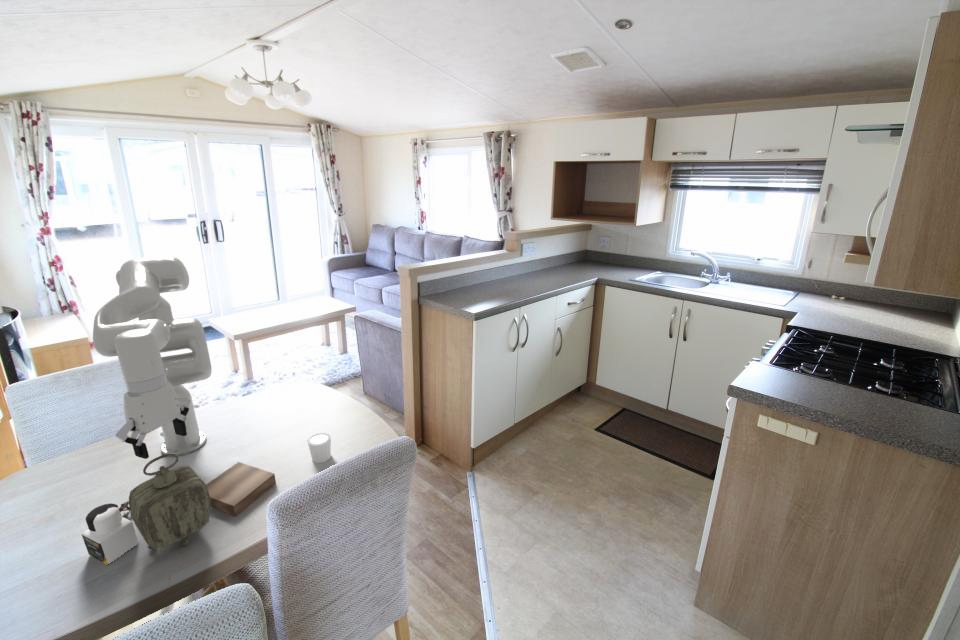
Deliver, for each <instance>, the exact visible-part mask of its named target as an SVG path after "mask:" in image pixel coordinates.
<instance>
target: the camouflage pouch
mask: <svg viewBox="0 0 960 640" xmlns="http://www.w3.org/2000/svg"><path fill="white" fill-rule="evenodd" d="M178 456H179V455H178ZM178 456H177V455H175V454H162V455H160V456H157V457H155V458H153V459H152V460H150V461H148V462H147V463H146V464H145V466H144V467H143V470H142V471H143V474H144V475H145V476H154V477H152V478H150V479H147V480H146V481H144V482H141V483H140V484H138V485H136V486H134V488H133V489H131V490H130V491H129V496H128V501H129V505H128V507H130V510H129V511H130V516H131V518H132V520H133V521H132V522H133V523H134V525H135V527H136V528H137V530H138V532H139V533H140V535H141V536H142V538H143V539H144V541H145V543H146V544H147V546H148V549H149V550H155V549H161V548H165V547H168V546H170V545H172V544H174V543H176V542H177V541H180V540H181V541H180V546H181V547H187V545H188V544H189V540H188V539H187V538H186V537H188V536H190V535H191V534H193V533H195V532H196V531H198V530H200V529H202V528H203V527H204V526H206V524H208V523H209V521H210V518H211V514H212V507H211V501H210V495H209V492H208V489H207V487H206V483H205V482H204V480H203V479H202V478H201V477H200V476H199V474H197V472H195V470H194V469H193V468H192V467H191V466H190V465H186V466H185V465H184V466H179V467H175V468H173V467H174V466H176V464H177V463H178V461H179V457H178ZM168 457H173V458H175V461H174V462H173V463H171V464H170V465H168V466H167V467H165V466H164V465H162V466H161V465H160V467H159V468H158V469H159V470H158V471H154V472H147V471H146V470H147V468H149V466H150V465H151V464H153V463H155V462H157V461H159V460H161V459H164V458H168ZM172 468H173V469H172Z"/></svg>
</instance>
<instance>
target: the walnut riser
mask: <svg viewBox="0 0 960 640" xmlns="http://www.w3.org/2000/svg"><path fill="white" fill-rule="evenodd" d="M275 475H276V474H275V473H273V472H270V471H267V470H264V469H261V468H258V467H255V466H253V465H249V464H246V463H243V462H239V461H238V462H236V463H235V464H233V465H231V467H229V468H228V469H227V470H225V471H223V472H222V473H220V474H219V475H218V476H216V477H214V478H213V479H212V480H211V481H209V482H208V483H205V485H206V487H207V489H208V492H209V495H210V501H211V509H212V508H213V509H214V510H218V511H220V512H223V513H226V514H229V515H231V516H233V517H238V515H240V514H241V513H242V512H243V511H245V510H246V509H247V508H249V506H251V505H252V504H253V503H254V502H255V501H256V500H258V499H259V498H260V497H262V496H263V495H264V494H265V493H266V492H267V491H269V490H270V489H272V488H273V487H274V486H275V485H276V484H277V481H276V476H275Z"/></svg>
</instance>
